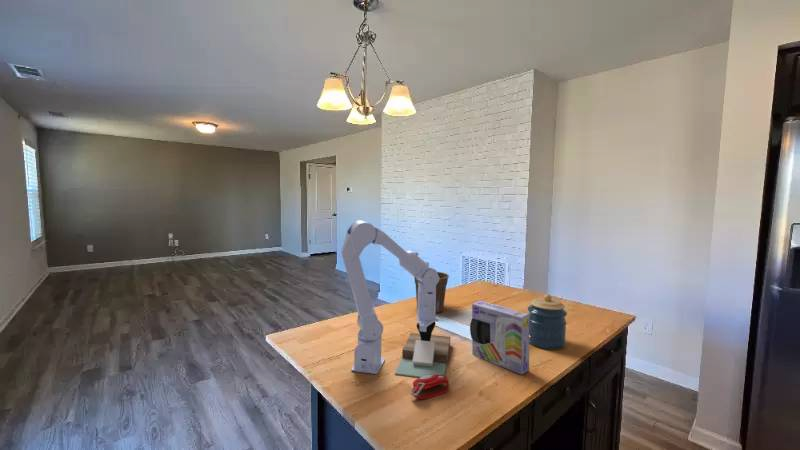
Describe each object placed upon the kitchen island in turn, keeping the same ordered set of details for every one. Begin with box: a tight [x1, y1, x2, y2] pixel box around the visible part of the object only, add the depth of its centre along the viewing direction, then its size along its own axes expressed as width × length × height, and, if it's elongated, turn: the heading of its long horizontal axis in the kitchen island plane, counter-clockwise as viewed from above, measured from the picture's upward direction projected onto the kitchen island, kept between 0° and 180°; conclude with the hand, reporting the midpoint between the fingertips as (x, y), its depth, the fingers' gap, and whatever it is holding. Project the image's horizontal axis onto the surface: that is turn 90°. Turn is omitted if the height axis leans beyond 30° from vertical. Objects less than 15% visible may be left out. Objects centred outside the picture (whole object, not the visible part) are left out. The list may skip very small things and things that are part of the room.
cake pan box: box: [469, 300, 530, 375], centre depth 109 cm, size 19×5×18 cm, turn 40°
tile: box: [413, 340, 435, 367], centre depth 107 cm, size 7×6×2 cm
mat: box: [394, 358, 447, 379], centre depth 104 cm, size 10×14×1 cm
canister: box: [527, 293, 568, 351], centre depth 124 cm, size 13×13×18 cm
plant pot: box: [413, 271, 450, 314], centre depth 159 cm, size 16×16×16 cm
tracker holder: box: [410, 374, 450, 400], centre depth 92 cm, size 12×4×10 cm
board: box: [401, 332, 451, 365], centre depth 116 cm, size 14×14×3 cm
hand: (425, 345), depth 112 cm, fingers closed
